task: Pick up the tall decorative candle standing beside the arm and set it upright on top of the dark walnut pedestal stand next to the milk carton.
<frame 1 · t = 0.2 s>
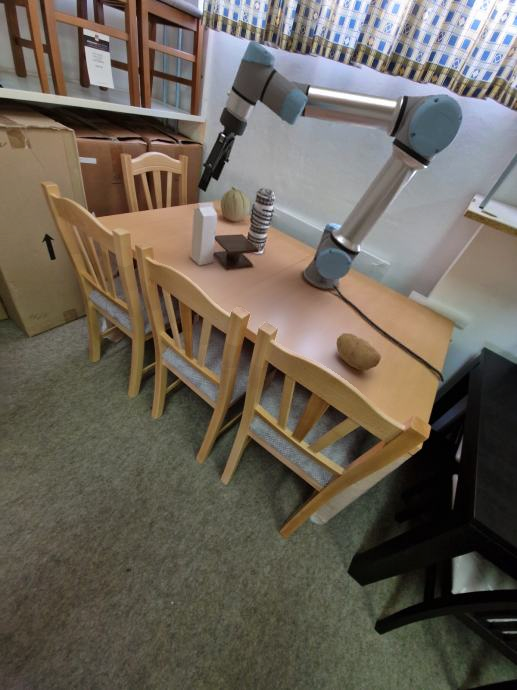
hand: (208, 183, 98), 28 cm above the table, tool tilted 20°, fingers open, 13 cm apart
milk: (201, 260, 116), on the table
stand: (233, 260, 121), on the table
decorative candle: (254, 249, 133), on the table
cantaloupe: (233, 220, 152), on the table
potato: (350, 361, 91), on the table
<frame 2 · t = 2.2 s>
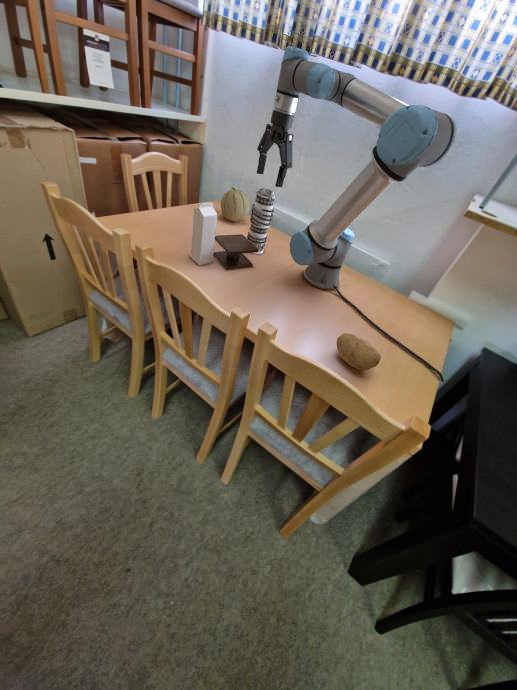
hand: (268, 180, 113), 29 cm above the table, tool pointing down, fingers open, 13 cm apart
nothing on the table moved.
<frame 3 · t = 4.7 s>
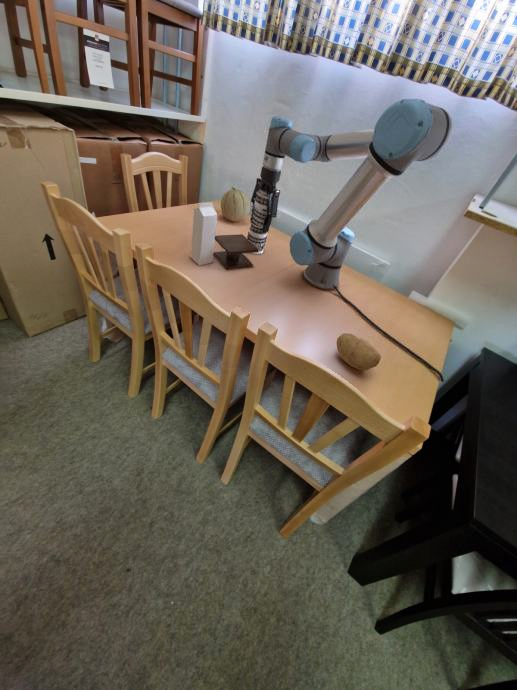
hand: (259, 226, 126), 10 cm above the table, tool pointing down, fingers closed on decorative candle, 9 cm apart
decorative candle: (254, 249, 133), on the table, touching gripper
everything else where it was.
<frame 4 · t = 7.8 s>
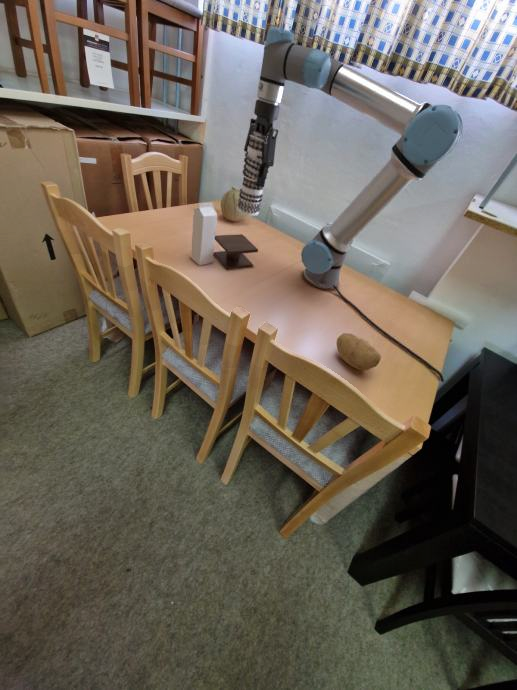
hand: (253, 181, 105), 30 cm above the table, tool pointing down, fingers closed on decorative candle, 9 cm apart
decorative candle: (247, 211, 112), point 19 cm above the table, touching gripper
everything else where it was.
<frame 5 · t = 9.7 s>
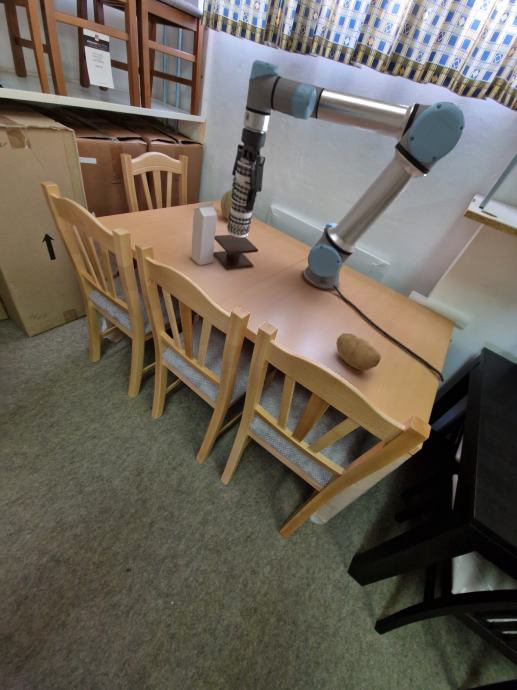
hand: (242, 204, 106), 22 cm above the table, tool pointing down, fingers closed on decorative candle, 9 cm apart
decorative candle: (237, 233, 113), point 12 cm above the table, touching gripper
everything else where it was.
when the fingers open (18 cm above the table, at t = 11.2 s): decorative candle stays where it is, resting on stand.
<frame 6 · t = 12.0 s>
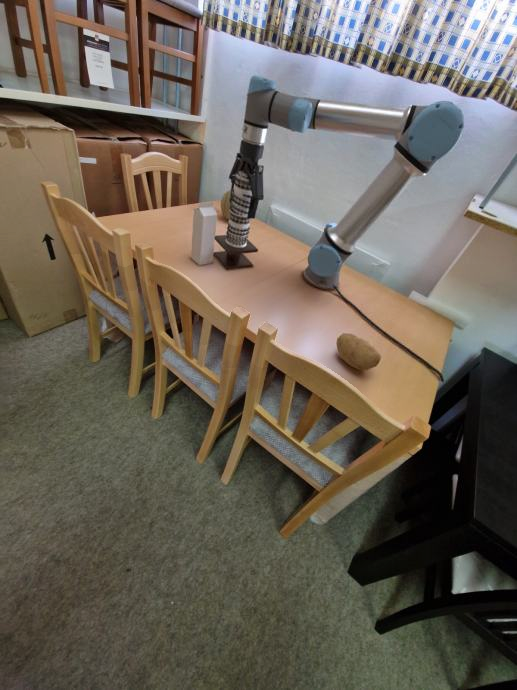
hand: (241, 210, 107), 21 cm above the table, tool pointing down, fingers open, 13 cm apart
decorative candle: (236, 242, 116), point 8 cm above the table, touching stand
everything else where it was.
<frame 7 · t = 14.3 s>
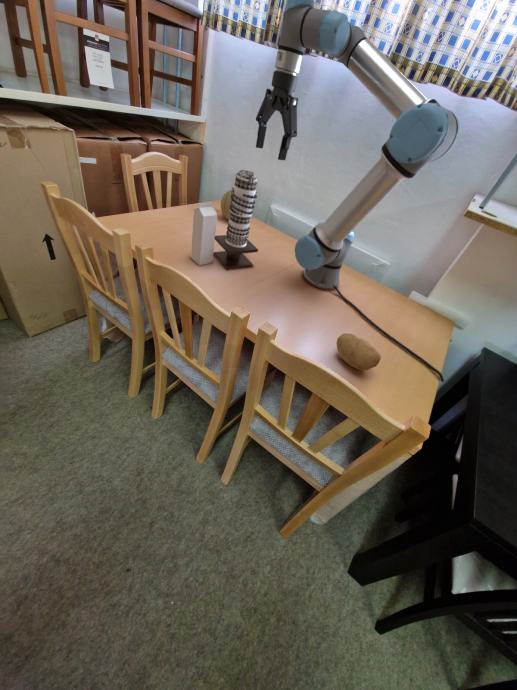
hand: (269, 153, 102), 38 cm above the table, tool pointing down, fingers open, 13 cm apart
nothing on the table moved.
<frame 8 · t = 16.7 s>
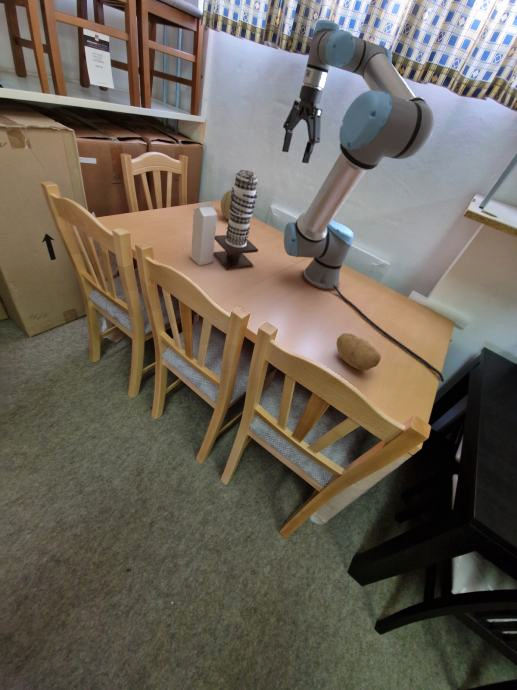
hand: (294, 157, 116), 37 cm above the table, tool pointing down, fingers open, 13 cm apart
nothing on the table moved.
at the end: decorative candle inside the target area on the stand (0.0 cm from its centre), point 7.8 cm above the stand's base; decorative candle tilted 0°; the gripper is holding nothing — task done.
